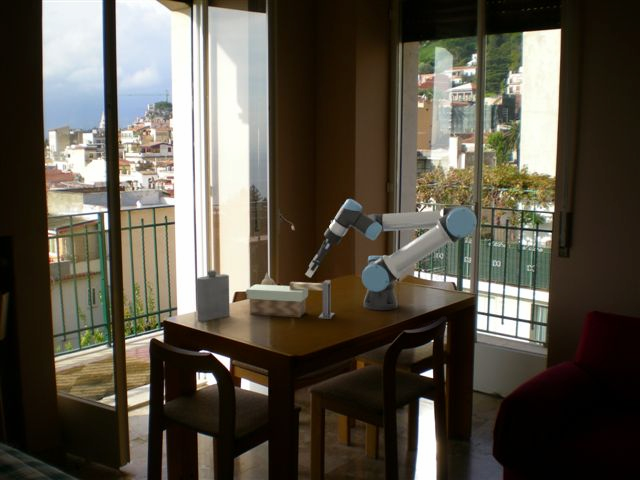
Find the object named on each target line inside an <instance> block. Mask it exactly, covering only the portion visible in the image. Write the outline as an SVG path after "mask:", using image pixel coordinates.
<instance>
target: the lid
mask: <svg viewBox="0 0 640 480" xmlns="http://www.w3.org/2000/svg"><path fill="white" fill-rule="evenodd" d="M246 290H247V294H246V299H248V300H250V299H263V300H280V301H298V302H302V301H303V300H304V299H305V300H306V298H309V297H308V296H309V290H301V289H290V285H278V284H277V285H261V284H258V283H257V284H254V285H251V286H250V287H248V288H247V289H246Z"/></svg>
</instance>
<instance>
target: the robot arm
mask: <svg viewBox="0 0 640 480" xmlns="http://www.w3.org/2000/svg"><path fill="white" fill-rule="evenodd" d="M362 209H363V206H362V205H361V204H360V203H359V202H358V201H356V200H355V199H352V198H348V199H346V201H345V202H344V204H342V205H341V207H340V209H339V210H338V212H337V213H336V215H335V216H334V219H333V220H330V225H329V227H327V229H326V231H325V232H324V234H323V236H324V237H325V238H326V239H325V240H323V243H322V245H321V247H320V249H319V250H318V252H317V253H316V254H315V255H314V257H313V259H312V260H311V262H310V263H309V265H308V267H309V268H308V269H307V271H306V272H305V274H304V275H306V276H307V277H308V278H312V276H313V275H314V274H315V272H316V271H317V269H318V267H319V266H320V265H321V263H322V261H323V260H324V258H325V257H326V255H327V254H328V253H329V251H330V250H331V249H332V247H333V243H334V244H337V245H338V244H339V243H341V241H342V239H343V237H344V236H345V235H346V234H347V232H348V230H349V229H350V227H352V228H353V229H355V230H356V231H357V232H359V233H361V234H362V235H364V236H365V237H366V238H368V239H370V240H371V241H375V240H376V239H377V237H378V236H379V234H380V233H381V232H390V231H391V232H392V231H410V230H427V231H426V232H424V233H423V234H421V235H420V236H418V237H417V238H414V239H413V240H411V241H410V242H409V243H406V244H405V245H404V246H403V247H401V248H399V249H398V250H396V251H395V252H393V253H392V254H390V255H386V254H384V255H369V256H368V257H367V258H368V259H367V266H365V268H364V269H363V270H362V274H361V282H362V284H363V285H364V288H366V289H367V290H366V294H365V296H364V300H363V308H365V309H368V310H374V311H390V310H394V309H397V308H398V300H397V295H396V293H395V282H396V281H397V280H399V279H400V276H401V273H403V272H404V271H407V270H408V269H409V268H410V267H412V266H414V265H416V264H417V263H419V262H420V261H421V260H423V259H424V258H426V257H428V256H429V255H431V254H432V253H434V252H436V251H438V250H439V249H441V247H443V246H445V245H447V244H449V243H450V244H455V243H457V242H458V241H459V240H461V239H463V238H466V237H469V236H470V235H471V234H473V232H474V231H475V229H476V227H477V223H478V220H477V215H476V212H475V211H474V209H472V207H470V206H467V205H462V204H461V205H456V206H450V207H442V209H441V210H430V211H429V210H428V211H425V210H424V211H414V212H413V211H412V212H398V213H397V212H395V213H380V214H379V213H378V214H377V213H371V214H368V215H367V214H365V213H364V212H363V211H362Z"/></svg>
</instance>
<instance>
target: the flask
mask: <svg viewBox="0 0 640 480" xmlns="http://www.w3.org/2000/svg"><path fill="white" fill-rule="evenodd" d="M196 304H197V305H196V306H197V308H196V310H197V313H196V315H197V317H196V318H197V321H198V322H208V321H211V320H212V321H213V320H216V319H222V318H223V317H224V318H228V317H230V275H228V274H224V273H221V274H217V271H216V270H214V269H211V270H208V271H207V275H204V276H201V277H200V276H199V277H197V278H196ZM224 318H223V319H224Z"/></svg>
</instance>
